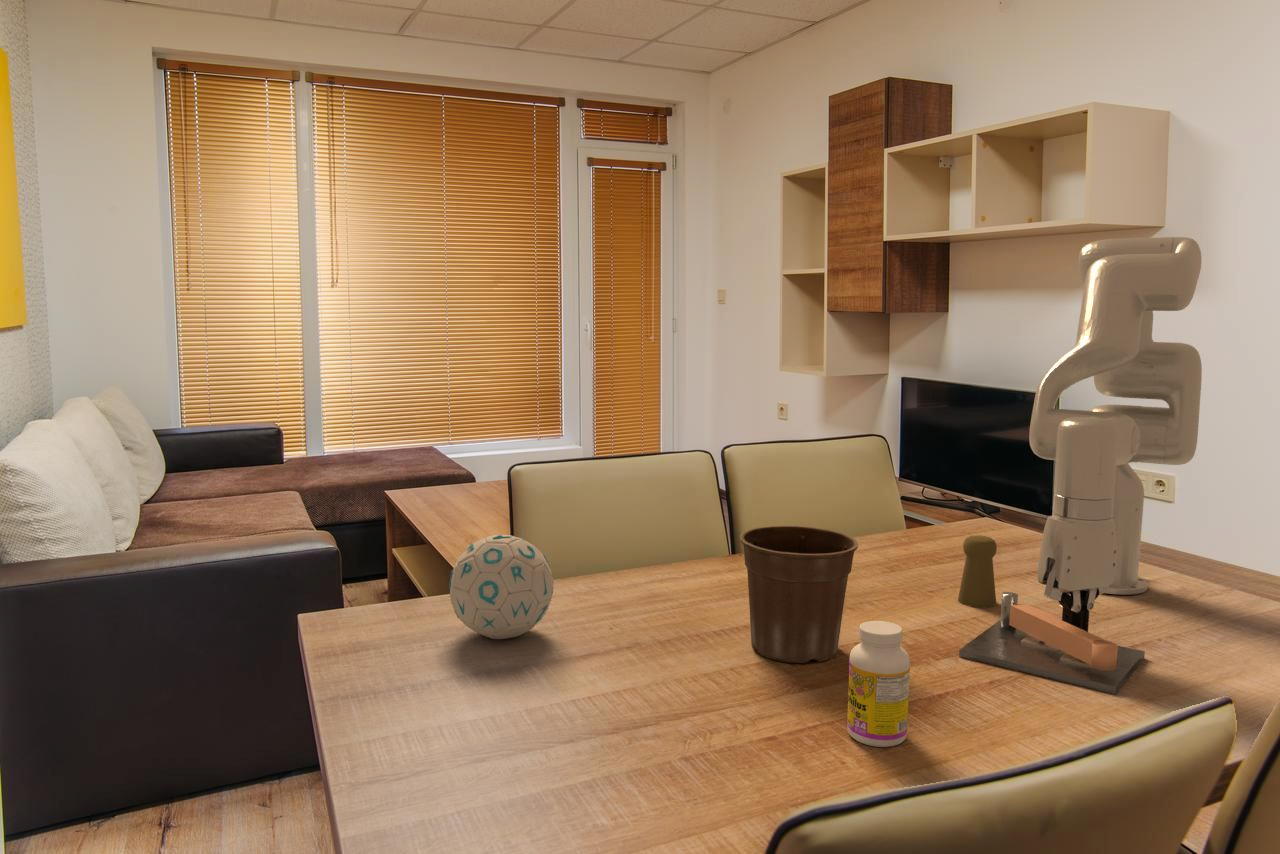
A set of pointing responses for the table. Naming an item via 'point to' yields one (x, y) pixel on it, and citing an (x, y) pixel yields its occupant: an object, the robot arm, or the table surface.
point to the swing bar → (1065, 637)
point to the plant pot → (797, 590)
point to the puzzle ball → (501, 586)
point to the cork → (978, 572)
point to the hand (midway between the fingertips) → (1074, 635)
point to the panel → (1045, 655)
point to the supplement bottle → (878, 686)
